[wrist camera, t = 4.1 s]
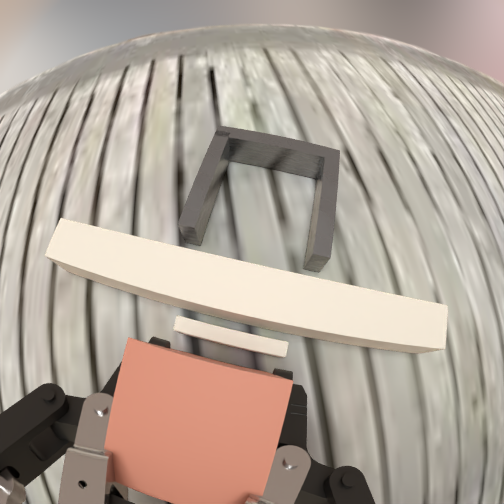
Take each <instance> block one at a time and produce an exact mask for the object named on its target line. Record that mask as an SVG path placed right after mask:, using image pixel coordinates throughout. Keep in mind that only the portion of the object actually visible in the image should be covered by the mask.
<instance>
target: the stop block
mask: <svg viewBox="0 0 504 504" xmlns="http://www.w3.org/2000/svg"><path fill="white" fill-rule="evenodd" d="M292 385H293V380H289V379H286V378H283V377H280V376H277V375H273V374H271V373H268V372H265V371H260V370H255V369H250V368H246V367H241V366H237V365H233V364H229V363H225V362H221V361H217V360H213V359H209V358H205V357H201V356H198V355H194V354H191V353H187V352H183V351H178V350H174V349H170V348H165V347H162V346H158V345H154V344H150V343H147V342H143V341H139V340H136V339H132V338H129V337H128V340H127V344H126V348H125V352H124V355H123V359H122V363H121V367H120V372H119V376H118V380H117V384H116V389H115V393H114V398H113V403H112V407H111V412H110V417H109V423H108V428H107V434H106V440H105V446H104V449H105V450H108V451H111V452H113V462H114V472H115V480H116V482H117V483H120V484H122V485H124V486H127V487H129V488H131V489H134V490H136V491H139V492H141V493H144V494H147V495H149V496H152V497H155V498H158V499H161V500H164V501H167V502H170V503H173V504H244V503H245V501H246V500H247V498H248V497H249V495H250V494H254V495H258V496H263V493H264V490H265V486H266V483H267V480H268V476H269V473H270V470H271V466H272V463H273V459H274V456H275V452H276V449H277V445H278V441H279V437H280V434H281V430H282V426H283V422H284V418H285V414H286V410H287V406H288V402H289V398H290V393H291V389H292Z"/></svg>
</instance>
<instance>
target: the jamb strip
mask: <svg viewBox="0 0 504 504" xmlns="http://www.w3.org/2000/svg"><path fill="white" fill-rule="evenodd" d="M45 256H46V257H47V258H49V259H50V260H51V261H53V262H54V263H56V264H57V265H59V266H60V267H62V268H63V269H65V270H66V271H68V272H70V273H73V274H76V275H78V276H81V277H84V278H87V279H90V280H93V281H96V282H98V283H101V284H104V285H107V286H110V287H113V288H116V289H120V290H123V291H126V292H129V293H132V294H135V295H139V296H142V297H145V298H148V299H152V300H155V301H159V302H162V303H165V304H169V305H172V306H176V307H180V308H183V309H187V310H191V311H194V312H198V313H202V314H206V315H210V316H214V317H218V318H222V319H226V320H230V321H234V322H238V323H242V324H247V325H251V326H255V327H260V328H264V329H269V330H274V331H279V332H283V333H288V334H293V335H298V336H304V337H309V338H314V339H320V340H325V341H331V342H337V343H343V344H349V345H355V346H362V347H369V348H376V349H383V350H391V351H399V352H407V353H416V354H419V353H426V352H432V351H438V350H443V349H445V344H446V331H447V311H448V305H443V304H438V303H433V302H428V301H423V300H419V299H414V298H409V297H404V296H399V295H395V294H390V293H385V292H380V291H376V290H371V289H366V288H362V287H357V286H352V285H348V284H343V283H338V282H334V281H329V280H325V279H320V278H315V277H311V276H306V275H302V274H297V273H293V272H288V271H284V270H279V269H275V268H270V267H266V266H261V265H257V264H253V263H248V262H244V261H239V260H235V259H231V258H226V257H222V256H217V255H213V254H209V253H204V252H200V251H196V250H192V249H187V248H183V247H179V246H174V245H170V244H166V243H162V242H157V241H153V240H149V239H145V238H141V237H136V236H132V235H128V234H124V233H120V232H116V231H111V230H107V229H103V228H99V227H95V226H91V225H87V224H83V223H79V222H75V221H71V220H66V219H62V218H61V219H60V221H59V223H58V225H57V227H56V230H55V232H54V234H53V236H52V239H51V241H50V243H49V246H48V248H47V251H46V253H45ZM173 330H175V331H177V332H179V333H182V334H185V335H189V336H192V337H196V338H200V339H203V340H207V341H211V342H215V343H219V344H223V345H227V346H231V347H235V348H239V349H243V350H248V351H252V352H257V353H261V354H266V355H271V356H276V357H281V358H282V357H286V353H287V348H288V343H289V342H285V341H281V340H276V339H271V338H266V337H262V336H257V335H253V334H248V333H244V332H240V331H235V330H231V329H227V328H223V327H219V326H215V325H211V324H207V323H203V322H200V321H196V320H192V319H189V318H185V317H181V316H178V315H177V317H176V321H175V325H174V328H173Z"/></svg>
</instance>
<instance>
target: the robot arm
mask: <svg viewBox="0 0 504 504" xmlns="http://www.w3.org/2000/svg"><path fill="white" fill-rule="evenodd" d="M148 343H150V344H154V345H158V346H162V347H165V348H170V342H169V341H166V340H163V339H159V338H156V337H152V338H151V339H150V341H149V342H148ZM121 363H122V362H121ZM121 363H120V365H119V367H118V368H117V369H116V371H115V372H114V374H113V375H112V376H111V378H110V379H109V381H108V382H107V384H106V385H105V387H104V388H103V390H102V391H101V392H100V393H95V394H92V395H90V396H88V397H87V398H79V397H74V396H69V395H65V393H64V391H63V390H62V388H61V387H59V386H58V385H56V384H52V383H47V384H43V385H41V386H40V387H38V388H37V389H35V390H34V391H32V392H31V393H30V394H28V395H27V396H25V397H24V398H22V399H21V400H20V401H18V402H17V403H15V404H14V405H12V406H11V407H10V408H8V409H7V410H5V411H4V412H3V413H1V414H0V504H22V503H23V502H24V501H25V500H26V491H25V488H24V487H25V486H26V485H28V484H29V483H30V482H31V481H33V480H34V479H35V478H36V477H37V476H39V475H40V474H41V473H42V472H43V471H45V470H46V469H47V468H48V467H49V466H51V465H52V464H53V463H54V462H55V461H57V460H58V459H59V458H60V457H61V456H62V455H64V454H65V453H66V455H65V461H64V466H63V472H62V478H61V485H60V493H59V501H58V504H134V503H132V502H129V501H128V487H127V486H124V485H122V484H120V483H117V482H116V480H115V472H114V462H113V452H111V451H108V450H105V449H104V446H105V440H106V434H107V428H108V423H109V417H110V412H111V407H112V403H113V398H114V393H115V389H116V384H117V380H118V376H119V372H120V367H121ZM273 375H277V376H280V377H283V378H286V379H289V380H292V379H293V372H292V371H287V370H281V369H276V368H275V369H274V372H273ZM306 407H307V395H306V393H305V391H304V389H303V387H302V385H296V384H293V385H292V389H291V393H290V398H289V402H288V406H287V410H286V414H285V418H284V422H283V426H282V430H281V434H280V437H279V441H278V445H277V449H276V452H275V456H274V459H273V463H272V466H271V470H270V473H269V476H268V480H267V483H266V486H265V490H264V493H263V496H258V495H254V494H250V495H249V497H248V498H247V500H246V501H245V503H244V504H375V502H374V499H373V497H372V494H371V492H370V490H369V487H368V485H367V482H366V480H365V477H364V475H363V474H362V472H361V471H360V470H358V469H357V468H355V467H352V466H342V467H339V468H337V469H333V468H330V467H327V466H325V465H322V464H320V463H318V462H316V461H315V460H313V459H312V458H311V457H310V455H309V454H308V451H307V447H306V438H307V416H306V415H307V408H306ZM84 487H86V488H84Z"/></svg>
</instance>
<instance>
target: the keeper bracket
mask: <svg viewBox="0 0 504 504" xmlns="http://www.w3.org/2000/svg"><path fill="white" fill-rule="evenodd" d="M339 158H340V150H336V149H332V148H328V147H324V146H320V145H316V144H312V143H308V142H304V141H300V140H295V139H291V138H286V137H281V136H276V135H271V134H266V133H261V132H255V131H249V130H243V129H237V128H231V127H224V126H218V128H217V130H216V132H215V135H214V137H213V139H212V141H211V144H210V146H209V148H208V150H207V153H206V155H205V157H204V160H203V162H202V164H201V167H200V169H199V171H198V174H197V176H196V179H195V181H194V184H193V186H192V189H191V191H190V194H189V196H188V199H187V201H186V204H185V206H184V209H183V211H182V214H181V217H180V219H179V222H178V226H179V228H180V231H181V233H182V235H183V238H184V240H185V242H186V243H190V244H195V245H199V246H201V242H202V239H203V236H204V233H205V230H206V227H207V224H208V221H209V218H210V215H211V212H212V209H213V206H214V203H215V200H216V197H217V194H218V192H219V189H220V186H221V183H222V180H223V177H224V175H225V172H226V169H227V166H228V163H229V161H234V162H239V163H244V164H250V165H255V166H260V167H265V168H270V169H274V170H279V171H284V172H288V173H293V174H297V175H301V176H306V177H310V178H314V179H317V181H316V189H315V197H314V204H313V211H312V218H311V225H310V231H309V238H308V244H307V250H306V256H305V262H304V268H303V269H305V270H310V271H314V272H320V270H321V269H322V268H323V267H324V265H325V264H326V263H327V262H328V260H329V259H330V257H331V249H332V240H333V231H334V222H335V211H336V200H337V188H338V174H339Z"/></svg>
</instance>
